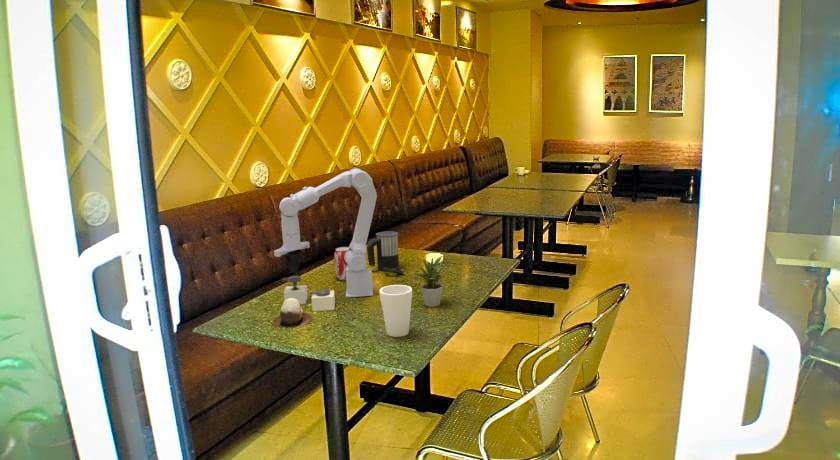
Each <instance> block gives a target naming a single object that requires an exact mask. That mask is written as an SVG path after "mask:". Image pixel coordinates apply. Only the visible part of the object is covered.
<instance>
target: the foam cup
mask: <svg viewBox="0 0 840 460" xmlns="http://www.w3.org/2000/svg"><path fill="white" fill-rule="evenodd" d="M412 288H413V287H411V286H409V285H404V284H392V285H386V286H383V287H381V288H380V289H379V300H380V303H381V308H382V314H383V320H384V324H385V330H386V331H385V332H386V334H387V335H388V336H389V337H393V338H394V337H395V338H397V337H398V338H399V337H404V336H407V335H408V334H409V332H410V320H411V312H412V311H411V309H412V299H413V289H412Z"/></svg>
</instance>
